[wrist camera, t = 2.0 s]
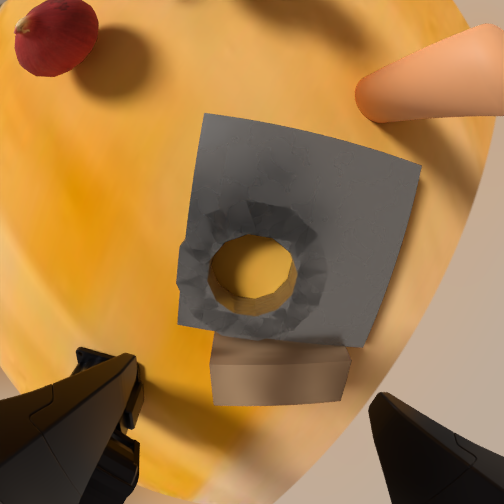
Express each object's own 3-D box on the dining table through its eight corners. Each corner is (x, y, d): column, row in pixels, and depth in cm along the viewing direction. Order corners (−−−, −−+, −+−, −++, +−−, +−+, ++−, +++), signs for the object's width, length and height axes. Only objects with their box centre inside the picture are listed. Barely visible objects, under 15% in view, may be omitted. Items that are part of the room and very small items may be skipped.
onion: (54, 30, 15) (-6, 5, 7) (116, 6, 15) (66, -38, 7) (52, 92, 17) (-18, 82, 9) (115, 70, 17) (54, 42, 9)
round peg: (351, 114, 18) (471, 89, 6) (358, 68, 17) (471, 6, 5) (396, 129, 18) (530, 131, 7) (403, 84, 17) (530, 54, 6)
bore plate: (179, 309, 23) (173, 327, 21) (205, 116, 18) (199, 112, 16) (352, 333, 24) (361, 350, 22) (404, 162, 19) (421, 165, 17)
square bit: (217, 369, 25) (213, 405, 21) (215, 329, 24) (209, 364, 20) (329, 366, 25) (340, 400, 21) (336, 327, 24) (351, 360, 20)
